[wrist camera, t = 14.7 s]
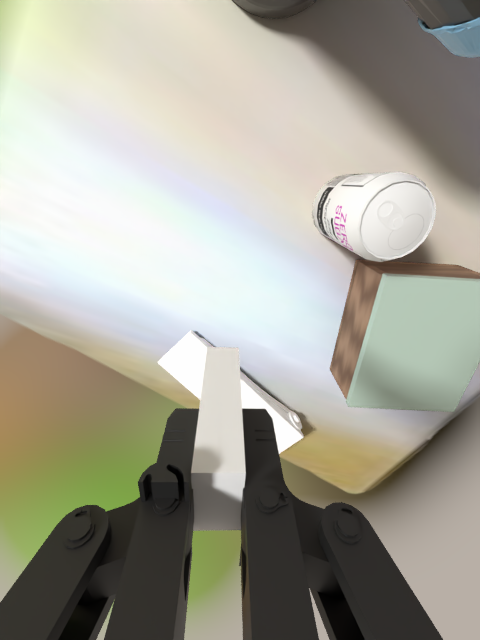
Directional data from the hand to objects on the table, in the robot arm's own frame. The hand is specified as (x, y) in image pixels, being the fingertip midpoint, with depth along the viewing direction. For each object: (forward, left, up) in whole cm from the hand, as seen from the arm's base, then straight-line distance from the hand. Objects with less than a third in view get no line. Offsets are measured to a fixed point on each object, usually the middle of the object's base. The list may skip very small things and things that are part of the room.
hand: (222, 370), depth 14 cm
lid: (+11, +28, -22) cm, 37 cm away
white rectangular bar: (+26, +2, -31) cm, 41 cm away
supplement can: (-6, +15, -31) cm, 35 cm away
